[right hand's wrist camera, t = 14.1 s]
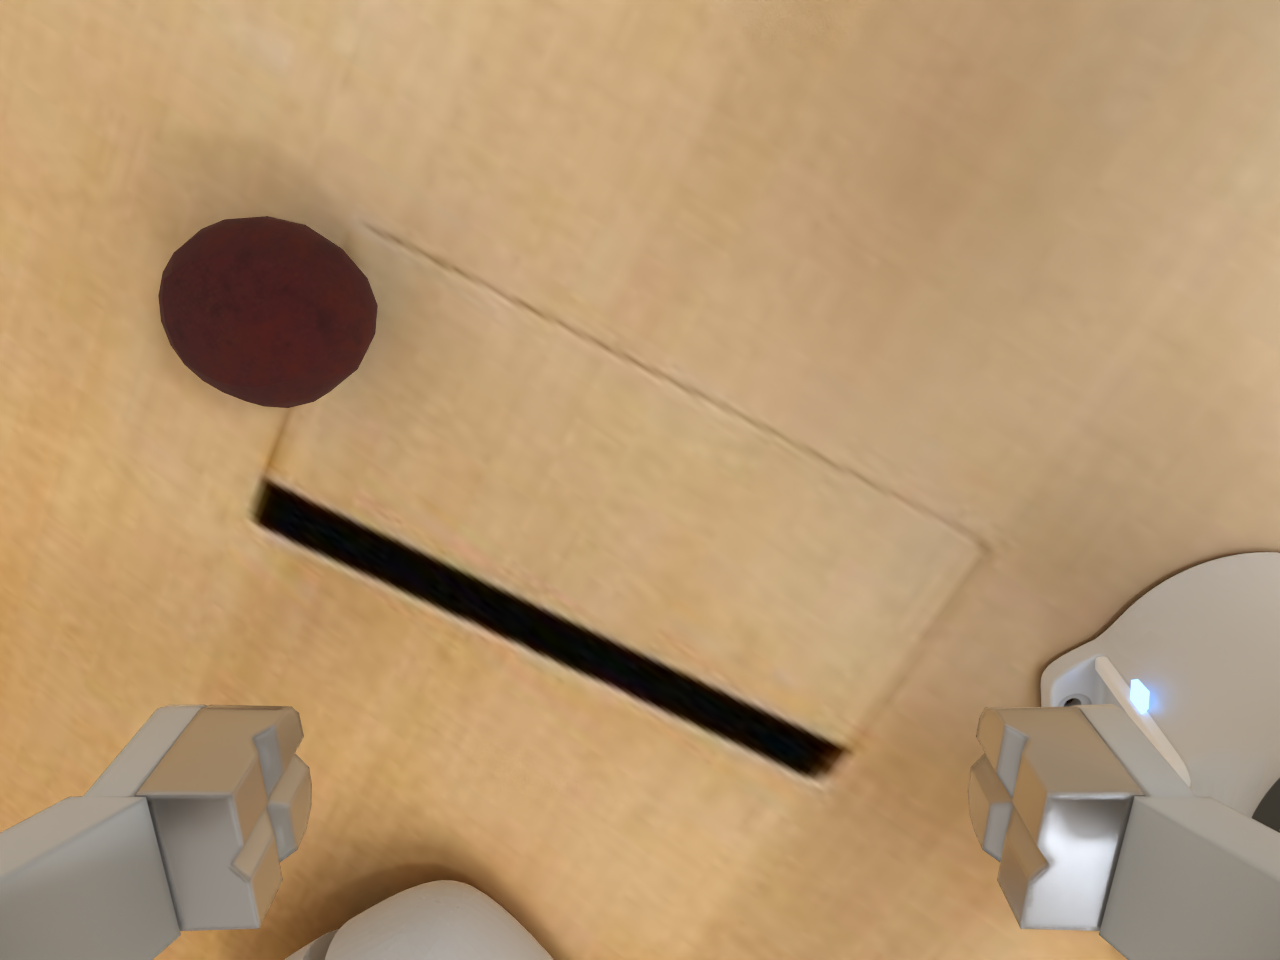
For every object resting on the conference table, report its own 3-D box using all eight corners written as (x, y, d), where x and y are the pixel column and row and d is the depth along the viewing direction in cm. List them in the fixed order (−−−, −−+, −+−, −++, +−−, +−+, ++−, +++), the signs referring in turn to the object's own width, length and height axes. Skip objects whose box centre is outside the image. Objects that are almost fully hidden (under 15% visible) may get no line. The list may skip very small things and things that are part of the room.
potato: (197, 210, 37) (100, 227, 30) (385, 206, 36) (329, 223, 30) (231, 384, 39) (148, 434, 33) (406, 380, 39) (358, 430, 33)
